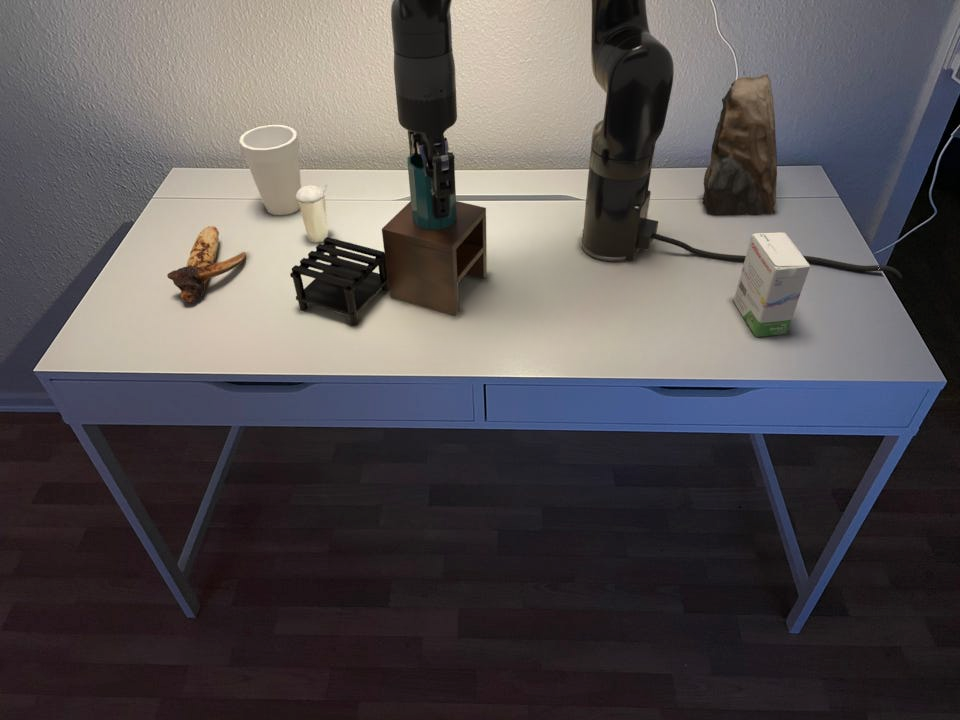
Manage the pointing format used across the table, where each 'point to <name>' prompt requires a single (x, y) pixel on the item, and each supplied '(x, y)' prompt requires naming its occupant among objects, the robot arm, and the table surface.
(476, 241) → the shelf
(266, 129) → the foam cup
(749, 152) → the tall brown rock
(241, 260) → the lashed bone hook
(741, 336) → the table surface
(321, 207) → the milkshake
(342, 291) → the rack
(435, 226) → the cup
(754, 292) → the ink box
